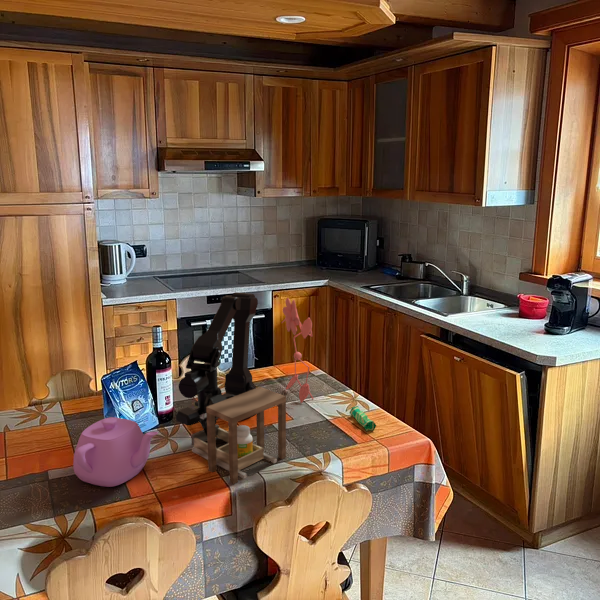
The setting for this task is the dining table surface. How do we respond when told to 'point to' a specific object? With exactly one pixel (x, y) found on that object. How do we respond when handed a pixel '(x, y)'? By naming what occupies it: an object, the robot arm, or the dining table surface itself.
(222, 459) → the wooden rack
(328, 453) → the dining table surface
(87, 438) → the teapot
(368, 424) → the candy
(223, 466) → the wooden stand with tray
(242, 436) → the supplement bottle
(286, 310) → the figurine
